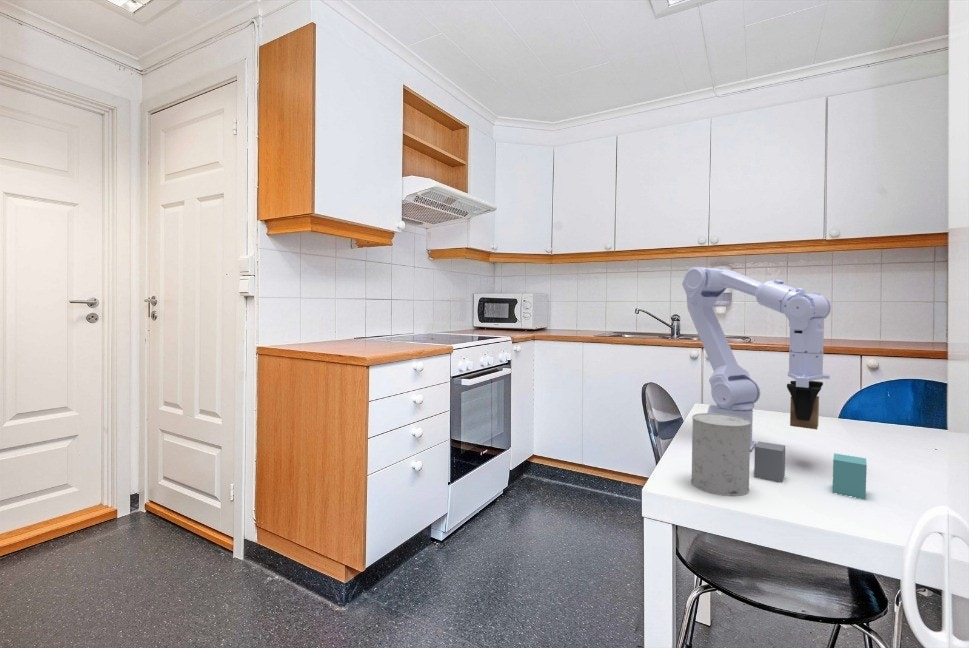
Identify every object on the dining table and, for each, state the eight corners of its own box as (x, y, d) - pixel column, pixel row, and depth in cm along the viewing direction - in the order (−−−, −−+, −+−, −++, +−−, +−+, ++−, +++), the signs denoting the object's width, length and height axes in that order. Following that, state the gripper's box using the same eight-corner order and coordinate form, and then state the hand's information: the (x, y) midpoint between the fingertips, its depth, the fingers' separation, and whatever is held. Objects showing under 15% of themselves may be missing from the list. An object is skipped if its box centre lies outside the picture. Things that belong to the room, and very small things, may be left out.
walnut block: (790, 425, 94) (790, 397, 94) (792, 421, 98) (793, 393, 98) (816, 429, 91) (817, 399, 91) (818, 425, 95) (819, 396, 95)
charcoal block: (754, 477, 88) (754, 446, 88) (757, 470, 92) (758, 441, 91) (781, 483, 85) (782, 451, 85) (784, 476, 89) (785, 445, 89)
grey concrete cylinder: (748, 500, 77) (749, 428, 77) (687, 488, 82) (688, 421, 82) (750, 482, 86) (751, 417, 85) (694, 472, 91) (695, 410, 90)
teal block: (832, 493, 81) (833, 459, 80) (833, 485, 84) (834, 453, 84) (865, 500, 78) (866, 465, 78) (865, 491, 81) (866, 458, 81)
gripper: (828, 356, 86) (826, 427, 86) (831, 350, 97) (830, 414, 98) (784, 353, 90) (782, 422, 91) (791, 348, 102) (790, 409, 102)
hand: (804, 417), depth 95 cm, fingers closed on walnut block, 4 cm apart
